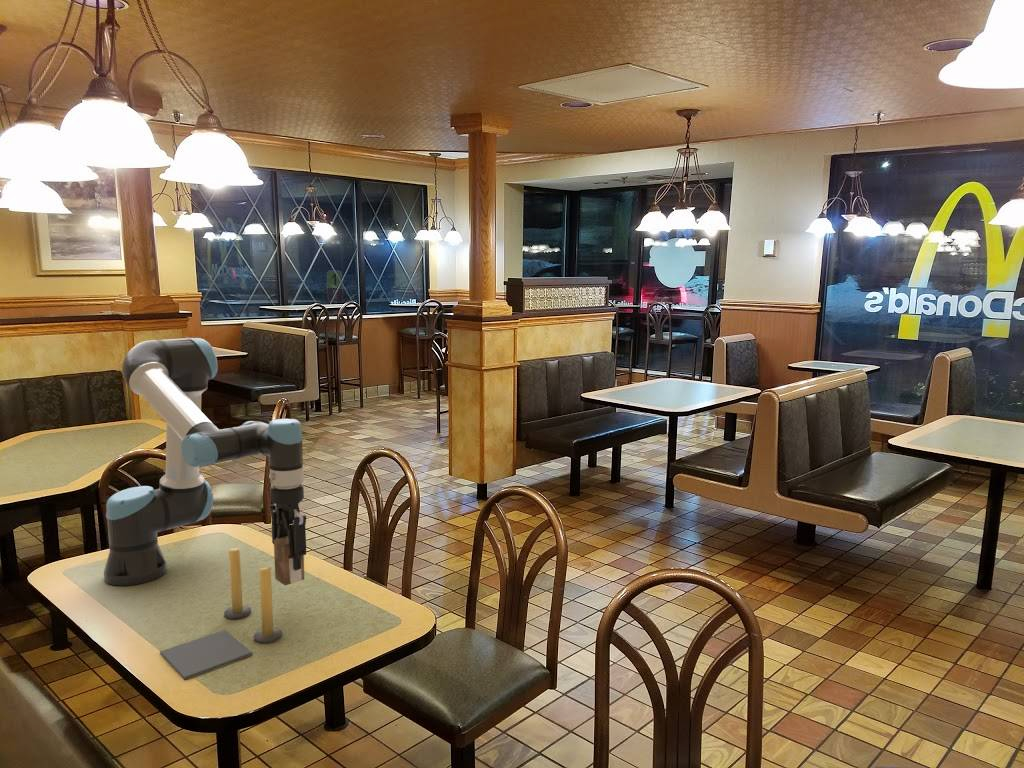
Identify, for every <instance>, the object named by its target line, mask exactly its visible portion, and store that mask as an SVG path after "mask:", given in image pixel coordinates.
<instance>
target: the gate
mask: <svg viewBox="0 0 1024 768" xmlns="http://www.w3.org/2000/svg"><path fill="white" fill-rule="evenodd" d="M228 556H229V573H230V597H231V606H230V607H228V608H227V609H225V610H224V612H223V613H224V615H223V616H224V618H226V619H228V620H239V619H243V618H246V617H249V615H250V614H251V613H252V607H251V606H249V605H247V604H244V603H243V585H242V568H241V549H240V548H239V547H238V548H237V547H235V548H233V547H232V548H231V549H229V550H228ZM258 572H259V593H260V595H259V596H260V611H261V612H260V613H261V614H260V615H261V629H258V630H257V631H256V632H255V633H254V634H253V641H254V642H255V643H257V644H261V645H262V644H265V645H266V644H271V643H272V644H273V643H274V642H277V641H279V640H280V639H281V638H282V636H283V630H282V629H281V628H279V627H275V626H274V616H273V615H274V614H273V613H274V612H273V592H272V591H273V590H272V572H271V567H269V566H264V567H261V568H259V570H258Z"/></svg>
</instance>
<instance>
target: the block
mask: <svg viewBox="0 0 1024 768" xmlns="http://www.w3.org/2000/svg"><path fill="white" fill-rule="evenodd" d="M273 549H274V550H273V551H274V553H273V554H274V555H273V556H274V577H275V578H274V580H275V581H277V582H279V583H281V584H282V585H284V586H288V585H291V583H290V575H289V558H288V556H290V555H291V553H290V546H289V540H288V536H285V537H281V538H277V539H274V544H273ZM304 556H305V555H303V556H301V574H302V581H304V580H305V557H304Z"/></svg>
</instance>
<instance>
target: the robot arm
mask: <svg viewBox="0 0 1024 768" xmlns="http://www.w3.org/2000/svg"><path fill="white" fill-rule="evenodd" d="M121 365H122V369H121V372H122V377H123V379H124V382H125V384H126V386H128V388H129V389H130V390H131V391H132V392H133V393H134V394H136V395H138V396H142V397H143V398H144V399H145V400H146V402H147V403H149V405H150V406H151V407H152V408H153V409H154V411H155V412H157V414H158V415H159V416H160V417H161V419H163V421H165V423H166V441H165V442H166V443H165V449H166V450H165V474H163V476H161V478H159V488H156V489H154V487H152V486H149V485H139V486H133V487H128V488H126V489H122V490H120V491H118V492H116V493H114V494H112V495H111V496H110V497H109V498H108V499H107V502H106V512H105V517H106V521H107V522H106V523H107V524H106V525H107V533H108V535H107V536H108V545H109V546H108V547H109V548H108V549H109V552H108V556H107V558H106V563H105V567H104V570H103V580H104V582H105V583H106V584H108V585H112V586H118V587H119V586H121V587H122V586H133V585H138V584H139V585H140V584H144V583H147V582H151V581H154V580H156V579H159V578H160V577H162V576H163V575H165V573H167V569H168V567H167V566H168V565H167V560H166V559H165V556H164V554H163V552H162V550H161V547H160V545H159V541H158V533H160V532H164V531H167V530H171V529H175V528H178V527H182V526H183V527H184V526H185V525H192V524H195V523H197V522H199V521H203V520H204V519H206V518H207V517H208V516H209V515H210V513H211V511H212V510H213V503H214V493H213V492H212V491H213V490H212V487H211V484H209V482H208V481H207V480H206V479H205V477H204V475H202V474H201V473H200V467H207V466H212V465H215V464H216V465H217V464H220V463H225V462H229V461H234V460H240V459H243V458H249V457H254V456H265V457H268V461H269V474H268V478H269V480H270V481H269V482H270V483H269V484H270V488H269V489H270V490H269V491H270V501H271V503H272V504H270V505H269V509H270V513H271V539H272V540H271V541H272V542H271V543H272V545H274V539H277V538H281V537H285V536H288V540H289V546H290V553H291V555H290V556H288V558H289V575H290V583H291V584H295V583H298V582H302V581H303V580H302V574H301V556H303V555H304V556H306V555H307V535H306V524H307V515H306V514H301V513H300V511H301V510H300V506H299V504H300V502H302V501H303V500H304V499H305V492H304V491H305V490H304V487H305V486H304V484H303V483H304V464H303V463H304V462H303V461H304V457H303V456H304V455H303V438H304V436H303V431H302V423H301V422H300V421H299V420H297V419H295V418H279V419H278V418H276V419H273V420H271V421H269V423H267V422H266V423H265V422H263V421H259V420H256V421H255V420H254V421H253V420H248V421H245V422H243V423H242V424H241V425H239V426H233V427H228V428H223V429H221V428H220V429H219V428H218V427H217V425H215V424H214V423H213V422H212V421H211V420H210V419H209V418H208V417H207V416H206V415H205V413H203V412H202V394H203V393H204V392H206V391H207V390H208V385H209V384H208V383H209V381H210V380H212V379H214V378H215V377H216V375H217V373H218V370H219V369H218V368H219V367H218V359H217V354H216V352H215V350H214V349H213V347H212V345H211V344H210V342H209V341H207V340H205V339H203V338H200V337H180V338H167V339H166V338H165V339H152V340H150V339H149V340H144V341H142V342H139V343H137V344H136V345H134V346H133V347H132V348H131V349H130V350H128V352H127V353H126V355H125V356H124V358H123V361H122V364H121ZM291 584H290V585H291Z"/></svg>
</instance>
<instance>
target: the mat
mask: <svg viewBox="0 0 1024 768" xmlns="http://www.w3.org/2000/svg"><path fill="white" fill-rule="evenodd" d="M159 653H160V656H161V657H163V659H164V660H165V661H166V662H167V663H168V664H169V665H170V666H171V667H172V668H173V670H175V671H176V673H178V675H179V676H181V678H182V679H183V680H184V681H185V680H188V679H190V678H193V677H196V676H199V675H202V674H205V673H207V672H210V671H212V670H215V669H218V668H220V667H223V666H225V665H229V664H231V663H234V662H237V661H240V660H242V659H245V658H247V657H251V656H252V655H253V652H252V650H250V649H249V648H247V647H246V646H245V645H244V644H243V643H242V642H241V641H239V639H238V638H236V637H235V636H233V635H232V634H231V633H230V632H228V631H227V630H226V629H224V630H223V629H222V630H220V631H217V632H215V633H211V634H208V635H205V636H202V637H199V638H196V639H194V640H193V639H192V640H190V641H187V642H184V643H180V644H178V645H174V646H171V647H169V648H166V649H163V650H160V651H159Z"/></svg>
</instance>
